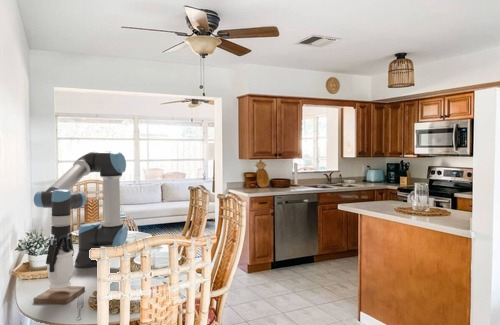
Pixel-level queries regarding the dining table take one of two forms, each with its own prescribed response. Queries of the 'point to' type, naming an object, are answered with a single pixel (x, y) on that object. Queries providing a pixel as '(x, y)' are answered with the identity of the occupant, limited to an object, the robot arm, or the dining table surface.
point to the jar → (62, 270)
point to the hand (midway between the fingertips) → (60, 275)
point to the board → (59, 295)
